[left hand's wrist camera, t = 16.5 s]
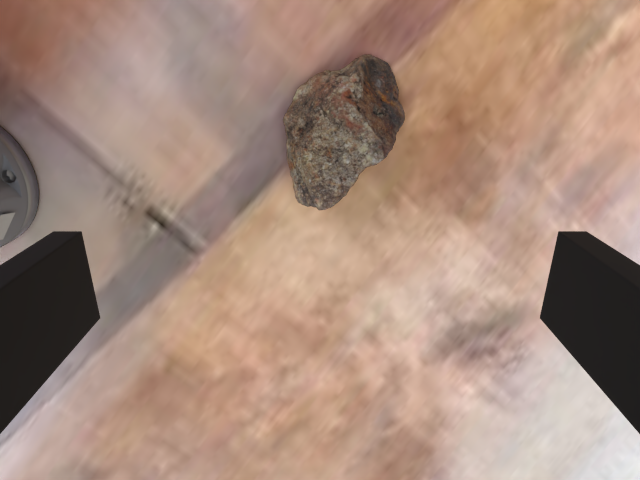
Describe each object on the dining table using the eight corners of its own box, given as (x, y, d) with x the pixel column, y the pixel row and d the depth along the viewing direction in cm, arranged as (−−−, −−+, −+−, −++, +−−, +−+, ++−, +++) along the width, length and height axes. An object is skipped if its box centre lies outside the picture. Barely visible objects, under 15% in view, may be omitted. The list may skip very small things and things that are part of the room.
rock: (419, 123, 45) (368, 35, 42) (448, 132, 37) (387, 24, 34) (304, 202, 47) (247, 124, 44) (307, 227, 39) (238, 133, 36)
